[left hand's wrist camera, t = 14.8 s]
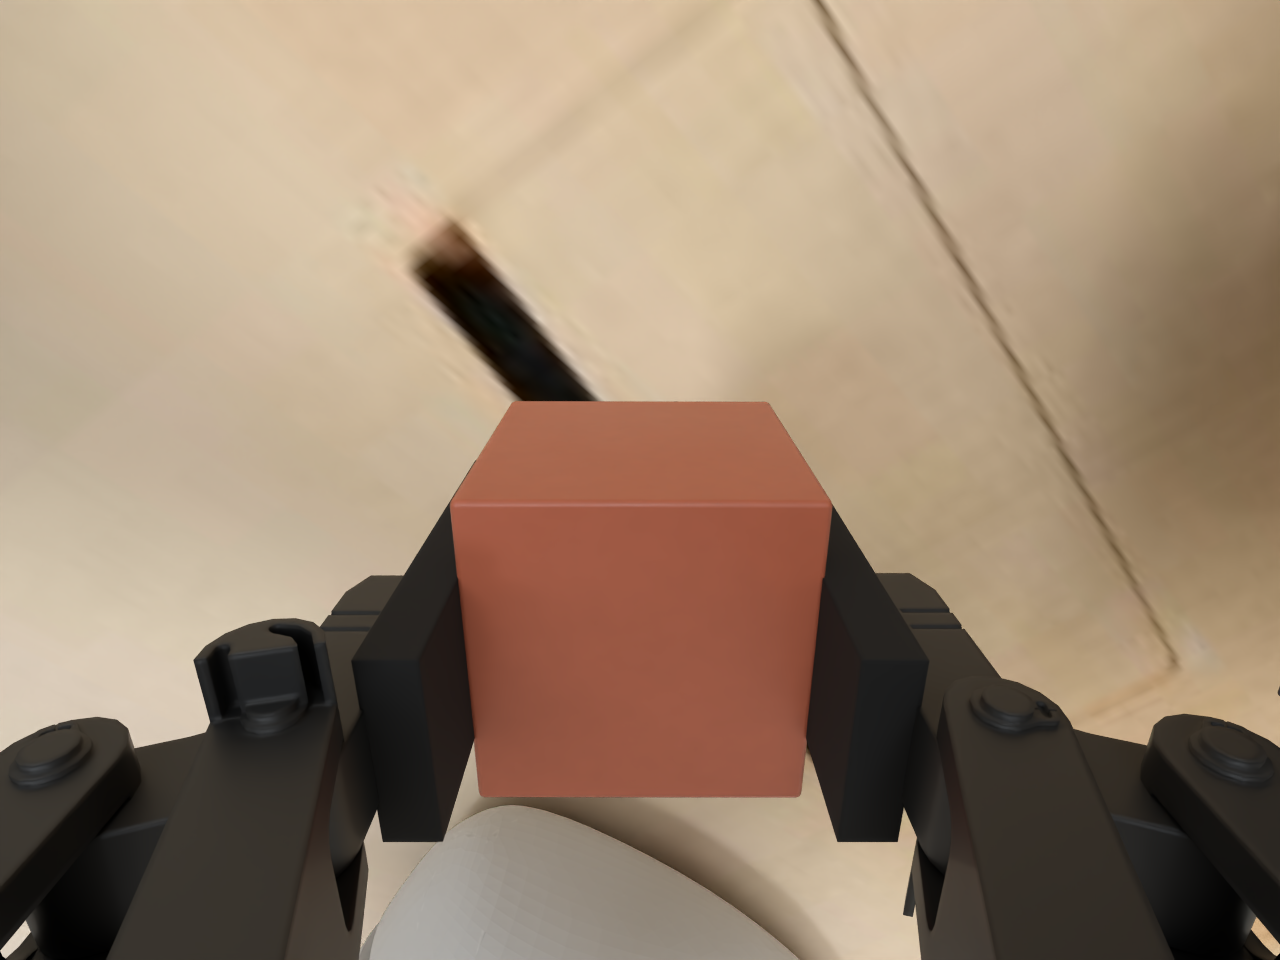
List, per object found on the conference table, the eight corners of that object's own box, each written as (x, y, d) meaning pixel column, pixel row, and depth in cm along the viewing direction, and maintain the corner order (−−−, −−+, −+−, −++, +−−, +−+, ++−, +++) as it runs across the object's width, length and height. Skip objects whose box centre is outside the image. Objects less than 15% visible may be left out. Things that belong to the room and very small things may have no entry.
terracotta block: (525, 622, 16) (477, 799, 11) (511, 399, 14) (447, 501, 9) (754, 621, 16) (802, 800, 11) (769, 401, 14) (835, 502, 9)
